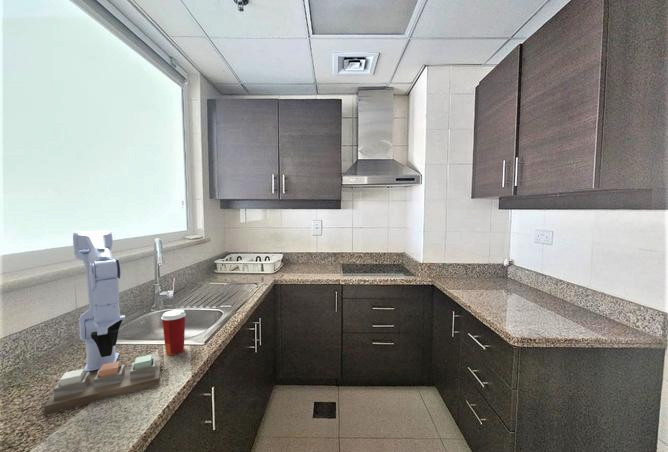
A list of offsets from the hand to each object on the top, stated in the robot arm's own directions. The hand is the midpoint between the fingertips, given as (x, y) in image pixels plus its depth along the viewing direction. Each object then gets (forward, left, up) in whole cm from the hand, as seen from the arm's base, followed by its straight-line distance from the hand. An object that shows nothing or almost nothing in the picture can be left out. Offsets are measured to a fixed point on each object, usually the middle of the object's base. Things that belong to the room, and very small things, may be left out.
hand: (108, 350), depth 82 cm
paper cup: (-15, +16, -11) cm, 24 cm away
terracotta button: (0, 0, -7) cm, 7 cm away
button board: (0, 0, -10) cm, 10 cm away
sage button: (0, +8, -7) cm, 11 cm away
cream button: (0, -8, -7) cm, 10 cm away
